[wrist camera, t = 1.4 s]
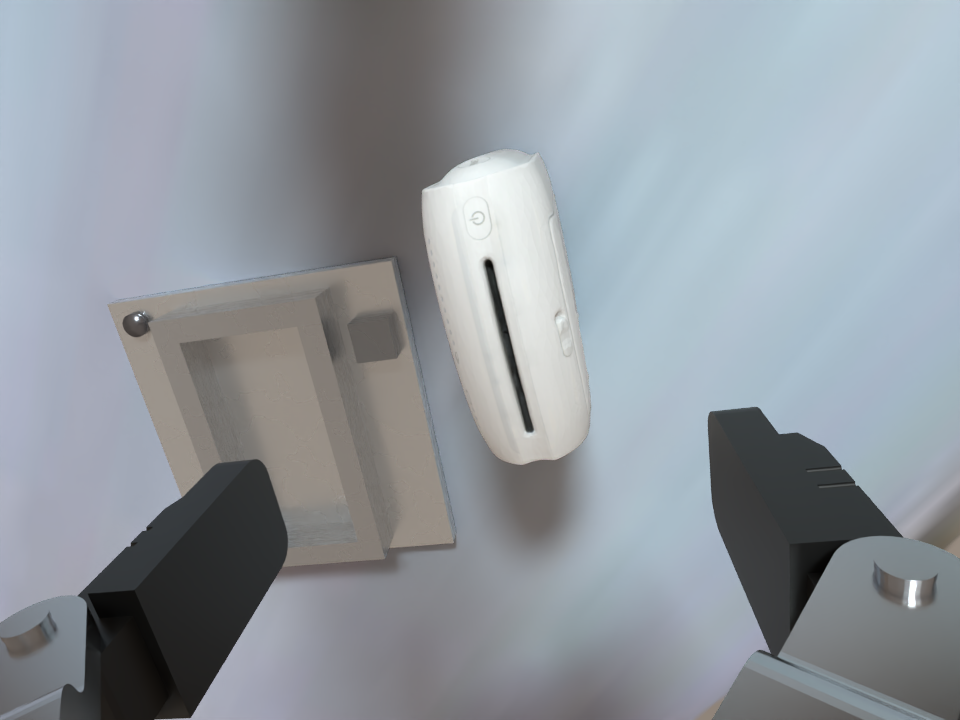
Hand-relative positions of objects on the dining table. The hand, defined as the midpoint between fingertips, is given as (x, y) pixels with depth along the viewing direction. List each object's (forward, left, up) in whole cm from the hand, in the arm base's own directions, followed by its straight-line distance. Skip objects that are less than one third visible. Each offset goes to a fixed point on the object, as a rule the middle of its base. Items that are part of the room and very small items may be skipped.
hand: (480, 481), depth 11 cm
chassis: (+7, -14, -20) cm, 25 cm away
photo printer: (0, 0, -20) cm, 20 cm away
